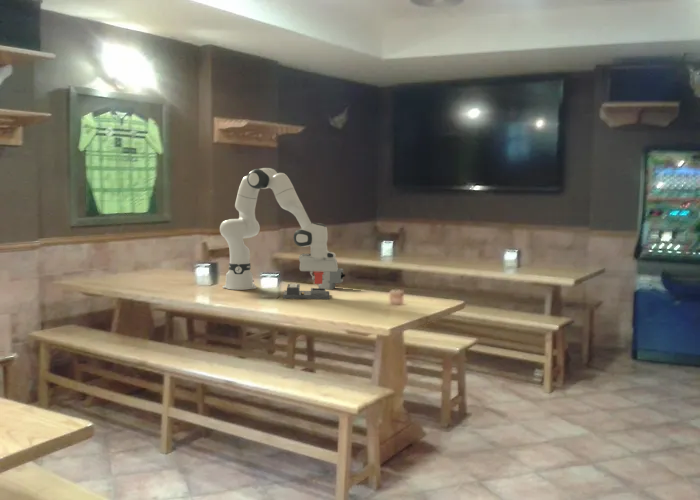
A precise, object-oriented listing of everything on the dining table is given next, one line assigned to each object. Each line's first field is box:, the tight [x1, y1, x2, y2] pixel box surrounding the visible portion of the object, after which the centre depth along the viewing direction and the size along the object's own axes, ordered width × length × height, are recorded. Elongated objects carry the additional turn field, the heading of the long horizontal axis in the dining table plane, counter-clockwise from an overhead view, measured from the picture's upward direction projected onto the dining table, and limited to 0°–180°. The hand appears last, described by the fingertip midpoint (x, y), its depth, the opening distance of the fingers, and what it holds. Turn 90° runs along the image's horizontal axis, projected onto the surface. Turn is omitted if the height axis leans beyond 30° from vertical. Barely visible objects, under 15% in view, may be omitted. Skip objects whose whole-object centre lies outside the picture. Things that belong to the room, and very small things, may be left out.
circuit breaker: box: [317, 267, 346, 290], centre depth 391 cm, size 8×14×15 cm, turn 78°
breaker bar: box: [289, 283, 298, 288], centre depth 361 cm, size 11×4×3 cm, turn 3°
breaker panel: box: [282, 283, 330, 300], centre depth 361 cm, size 14×24×6 cm, turn 93°
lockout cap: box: [313, 271, 323, 285], centre depth 361 cm, size 5×5×6 cm
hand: (318, 279), depth 361 cm, fingers closed on lockout cap, 4 cm apart
